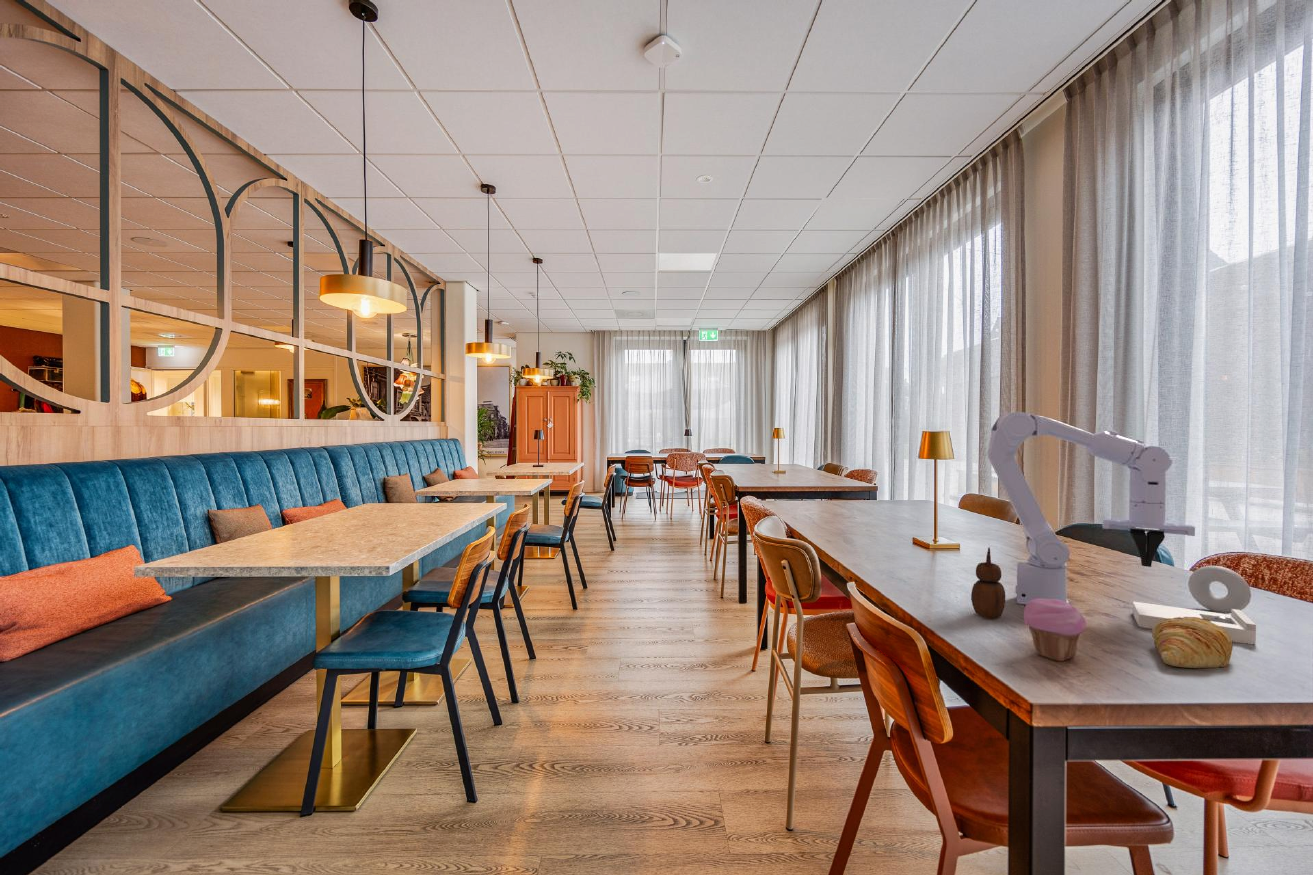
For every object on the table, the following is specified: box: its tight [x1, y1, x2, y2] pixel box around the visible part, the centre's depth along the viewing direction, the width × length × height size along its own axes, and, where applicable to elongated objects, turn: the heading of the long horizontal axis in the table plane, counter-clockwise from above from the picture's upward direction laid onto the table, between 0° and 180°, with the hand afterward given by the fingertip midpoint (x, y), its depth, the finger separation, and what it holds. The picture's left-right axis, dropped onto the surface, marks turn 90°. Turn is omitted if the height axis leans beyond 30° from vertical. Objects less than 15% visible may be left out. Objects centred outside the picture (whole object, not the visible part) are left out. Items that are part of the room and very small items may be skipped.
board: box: [1132, 601, 1257, 646], centre depth 108 cm, size 16×10×4 cm, turn 54°
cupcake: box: [1023, 598, 1087, 662], centre depth 95 cm, size 9×9×10 cm
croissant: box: [1151, 617, 1234, 669], centre depth 95 cm, size 21×10×8 cm, turn 122°
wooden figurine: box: [970, 546, 1006, 620], centre depth 115 cm, size 7×6×15 cm
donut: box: [1187, 565, 1252, 615], centre depth 117 cm, size 10×4×10 cm, turn 20°
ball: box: [1211, 616, 1233, 624], centre depth 105 cm, size 3×3×3 cm
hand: (1146, 565), depth 116 cm, fingers closed
